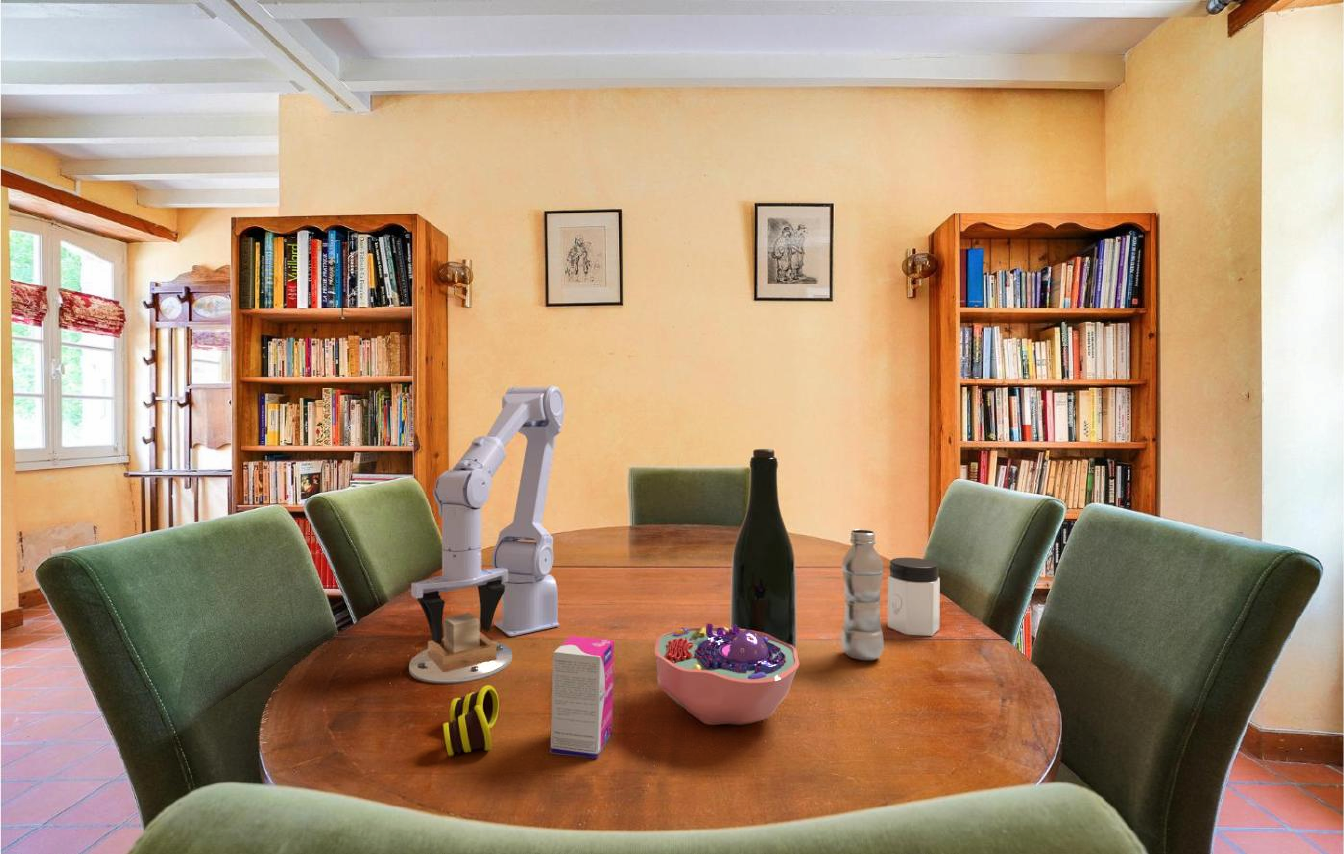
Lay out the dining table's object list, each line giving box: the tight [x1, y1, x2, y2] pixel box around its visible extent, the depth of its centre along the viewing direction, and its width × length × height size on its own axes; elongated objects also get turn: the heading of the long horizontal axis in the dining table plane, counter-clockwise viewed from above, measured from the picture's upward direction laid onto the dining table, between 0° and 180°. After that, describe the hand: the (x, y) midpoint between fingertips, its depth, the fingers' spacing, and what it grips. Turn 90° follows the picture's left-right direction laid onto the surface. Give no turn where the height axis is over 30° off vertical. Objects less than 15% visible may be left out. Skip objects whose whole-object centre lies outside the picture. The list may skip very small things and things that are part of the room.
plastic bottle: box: [840, 529, 885, 661], centre depth 96 cm, size 6×7×20 cm
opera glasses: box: [442, 684, 500, 757], centre depth 72 cm, size 10×5×5 cm, turn 11°
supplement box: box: [549, 635, 615, 759], centre depth 70 cm, size 6×6×12 cm
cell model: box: [654, 622, 800, 726], centre depth 78 cm, size 17×20×11 cm
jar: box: [887, 557, 941, 637], centre depth 110 cm, size 9×8×12 cm
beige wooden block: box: [443, 612, 481, 654], centre depth 94 cm, size 4×4×6 cm
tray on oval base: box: [408, 631, 513, 685], centre depth 94 cm, size 15×15×3 cm
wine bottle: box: [729, 448, 797, 650], centre depth 97 cm, size 10×10×33 cm
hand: (461, 635), depth 94 cm, fingers open, 7 cm apart
